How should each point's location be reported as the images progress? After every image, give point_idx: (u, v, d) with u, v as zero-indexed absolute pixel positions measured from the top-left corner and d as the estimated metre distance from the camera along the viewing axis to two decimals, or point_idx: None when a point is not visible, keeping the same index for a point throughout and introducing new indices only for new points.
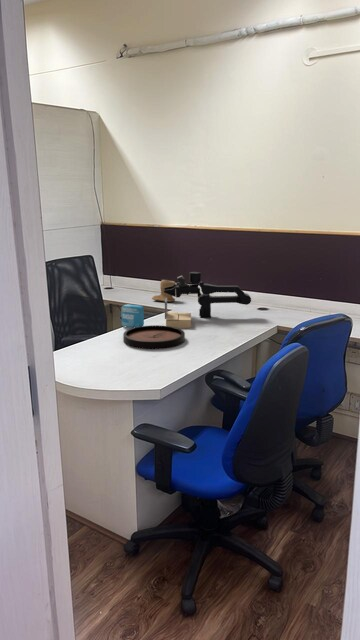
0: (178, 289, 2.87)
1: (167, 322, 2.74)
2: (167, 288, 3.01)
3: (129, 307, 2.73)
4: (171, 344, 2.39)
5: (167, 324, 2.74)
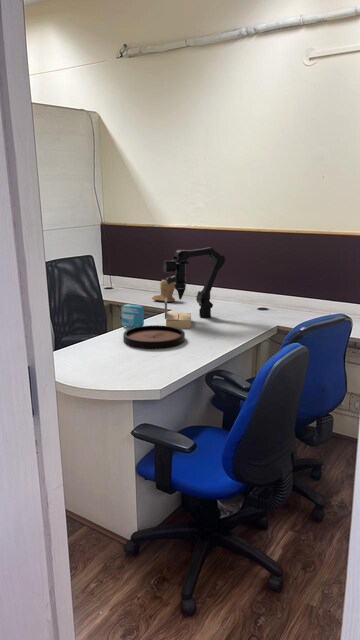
0: (177, 285, 2.79)
1: (167, 322, 2.74)
2: None
3: (129, 307, 2.73)
4: (171, 344, 2.39)
5: (167, 324, 2.74)
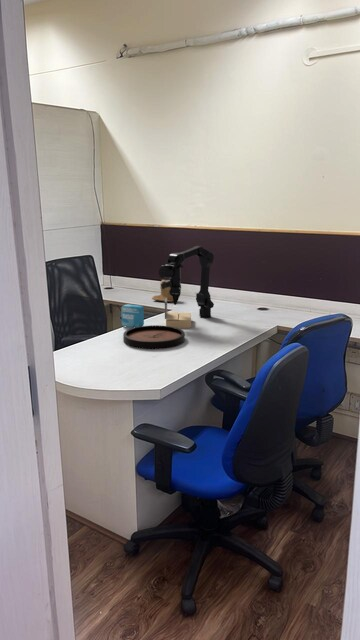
0: (171, 290, 2.69)
1: (167, 322, 2.74)
2: None
3: (129, 307, 2.73)
4: (171, 344, 2.39)
5: (167, 324, 2.74)
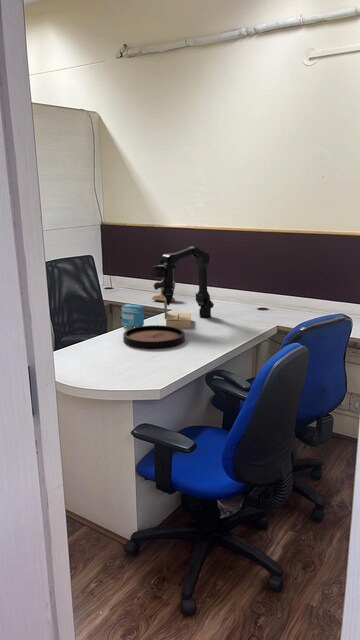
0: (164, 291, 2.69)
1: (167, 322, 2.74)
2: None
3: (129, 307, 2.73)
4: (171, 344, 2.39)
5: (167, 324, 2.74)
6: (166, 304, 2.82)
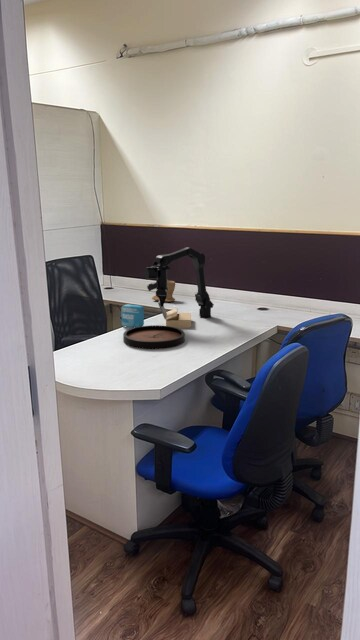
0: (158, 292, 2.69)
1: (167, 322, 2.74)
2: None
3: (129, 307, 2.73)
4: (171, 344, 2.39)
5: (167, 324, 2.74)
6: None
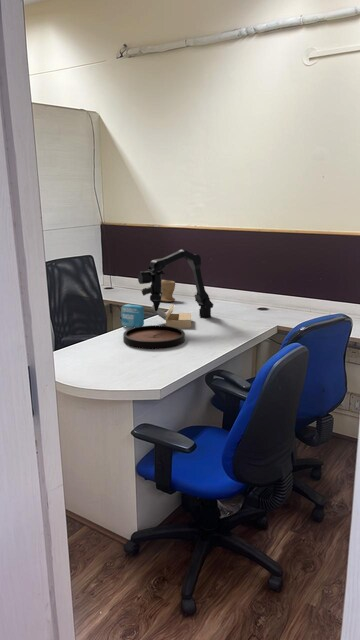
0: (152, 297, 2.70)
1: (167, 322, 2.74)
2: None
3: (129, 307, 2.73)
4: (171, 344, 2.39)
5: (167, 324, 2.74)
6: None
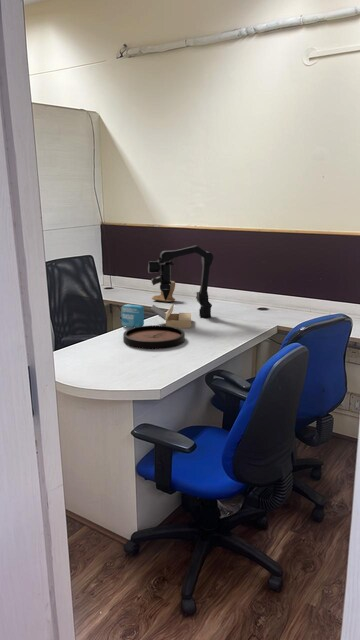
0: (162, 286, 2.81)
1: (167, 322, 2.74)
2: None
3: (129, 307, 2.73)
4: (171, 344, 2.39)
5: (167, 324, 2.74)
6: (157, 309, 2.83)
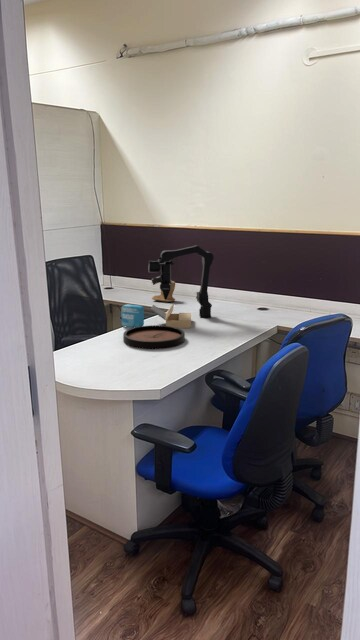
0: (162, 286, 2.82)
1: (167, 322, 2.74)
2: None
3: (129, 307, 2.73)
4: (171, 344, 2.39)
5: (167, 324, 2.74)
6: (157, 309, 2.83)
